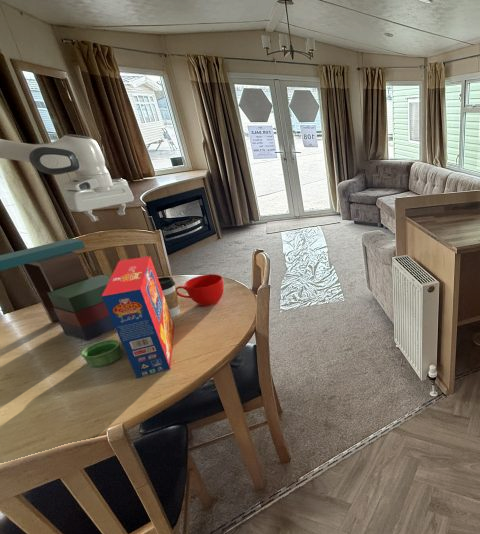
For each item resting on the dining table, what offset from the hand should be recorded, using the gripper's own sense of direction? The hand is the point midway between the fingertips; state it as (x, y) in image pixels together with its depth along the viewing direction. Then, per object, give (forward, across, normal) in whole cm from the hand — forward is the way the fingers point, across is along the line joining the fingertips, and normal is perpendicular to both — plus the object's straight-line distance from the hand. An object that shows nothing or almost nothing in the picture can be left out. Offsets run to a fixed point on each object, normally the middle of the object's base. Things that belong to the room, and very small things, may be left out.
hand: (109, 217), depth 130 cm
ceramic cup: (+35, -3, +31) cm, 46 cm away
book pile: (+35, +20, +10) cm, 41 cm away
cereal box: (+35, +26, +41) cm, 60 cm away
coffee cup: (+35, +8, +26) cm, 44 cm away
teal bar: (+9, +21, -5) cm, 23 cm away
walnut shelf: (+35, +19, -4) cm, 40 cm away
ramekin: (+35, +34, +30) cm, 58 cm away
